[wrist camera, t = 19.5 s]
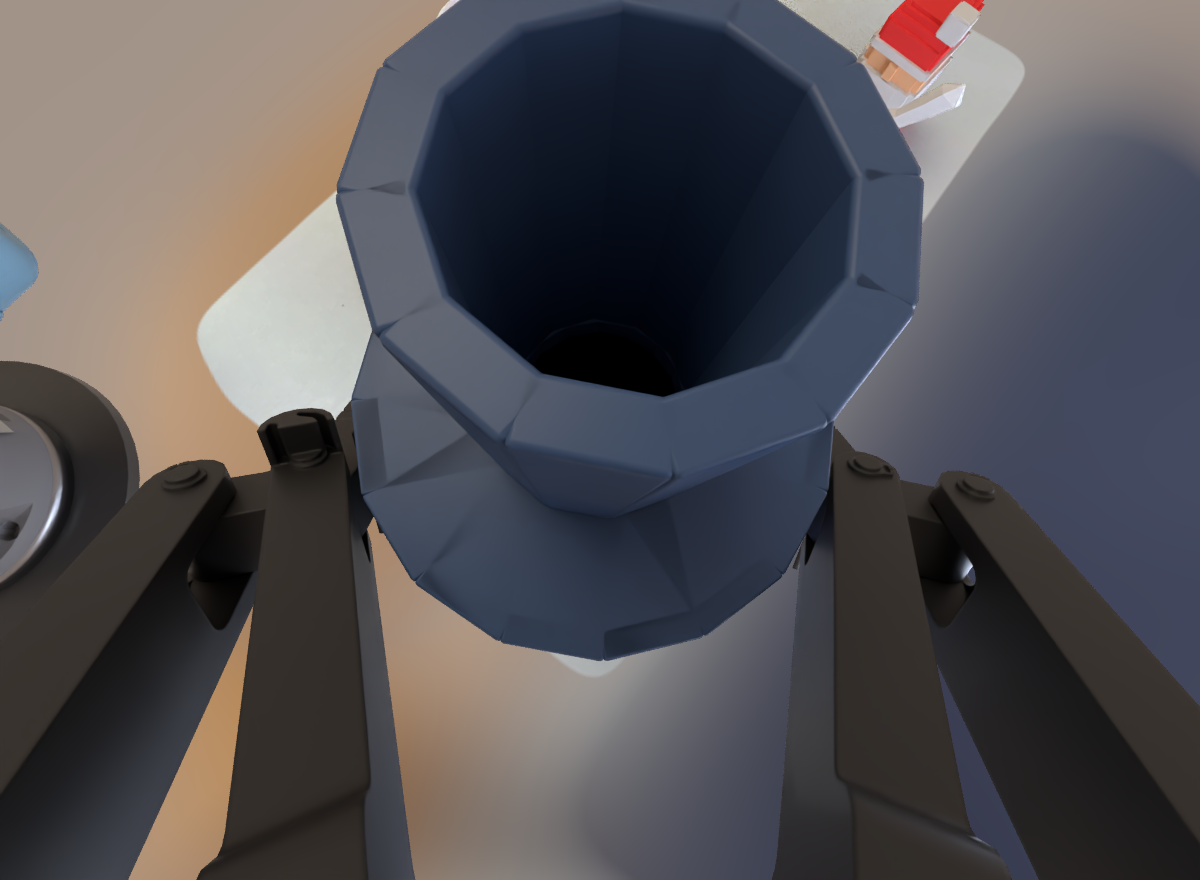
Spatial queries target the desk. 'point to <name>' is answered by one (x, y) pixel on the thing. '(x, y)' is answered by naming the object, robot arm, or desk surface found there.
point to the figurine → (917, 46)
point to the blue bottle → (617, 305)
